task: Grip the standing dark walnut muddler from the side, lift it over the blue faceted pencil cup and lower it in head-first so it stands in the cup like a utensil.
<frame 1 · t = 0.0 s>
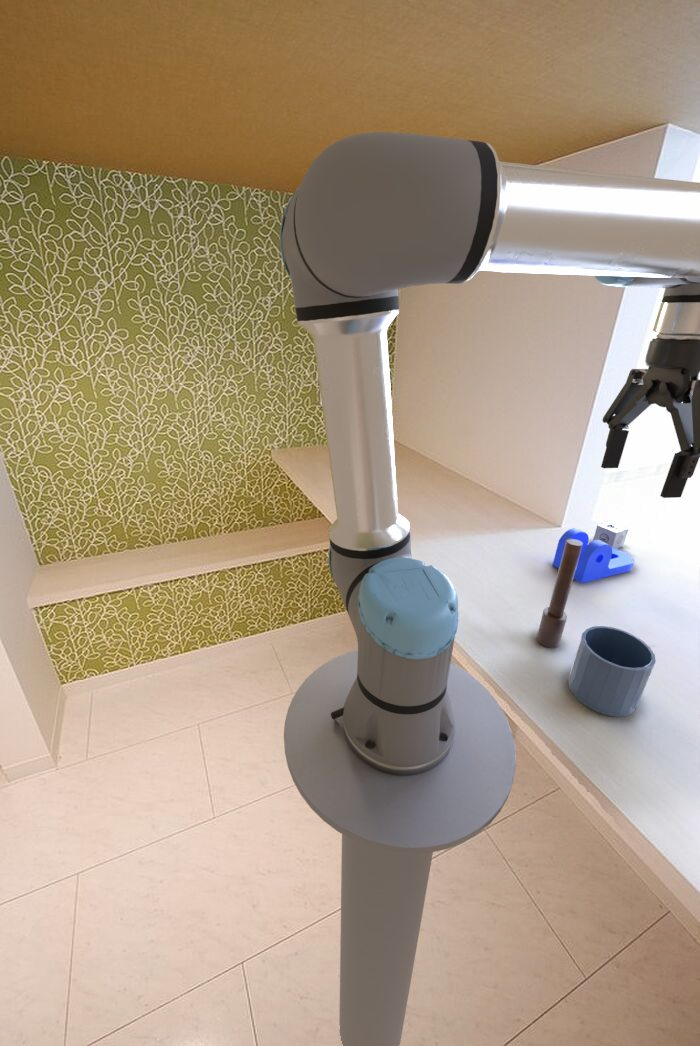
hand: (637, 481, 70), 29 cm above the table, tool pointing down, fingers open, 13 cm apart
blue faceted pencil cup: (601, 691, 67), on the table
muddler: (547, 640, 78), on the table
bracket: (595, 567, 101), on the table
dice cube: (607, 545, 111), on the table
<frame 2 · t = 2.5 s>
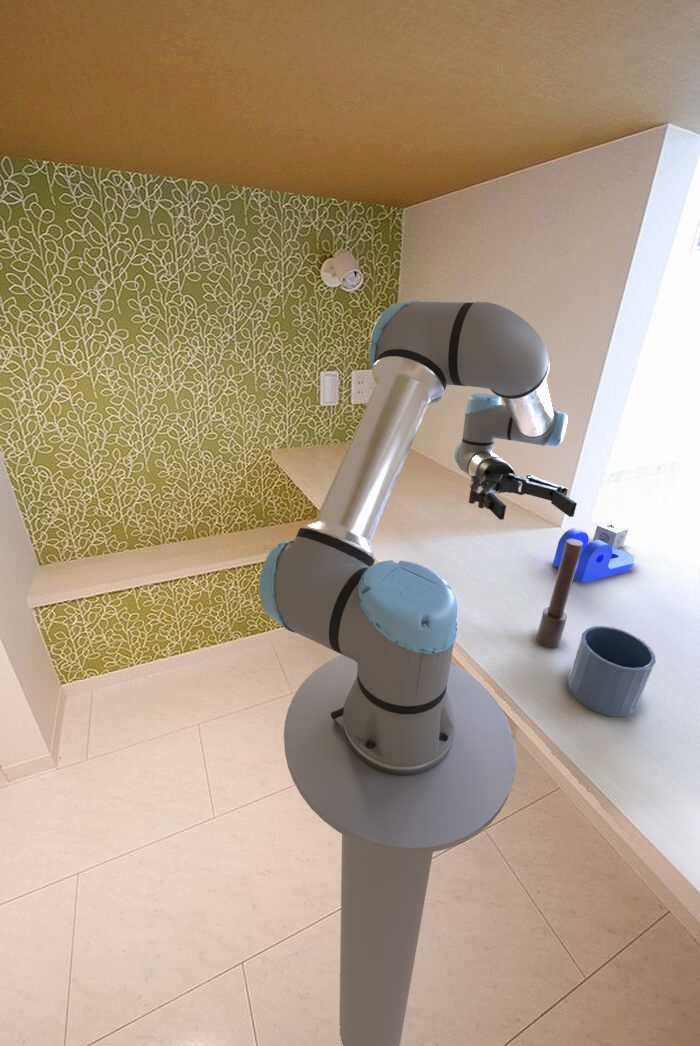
hand: (538, 511, 79), 20 cm above the table, tool horizontal, fingers open, 13 cm apart
nothing on the table moved.
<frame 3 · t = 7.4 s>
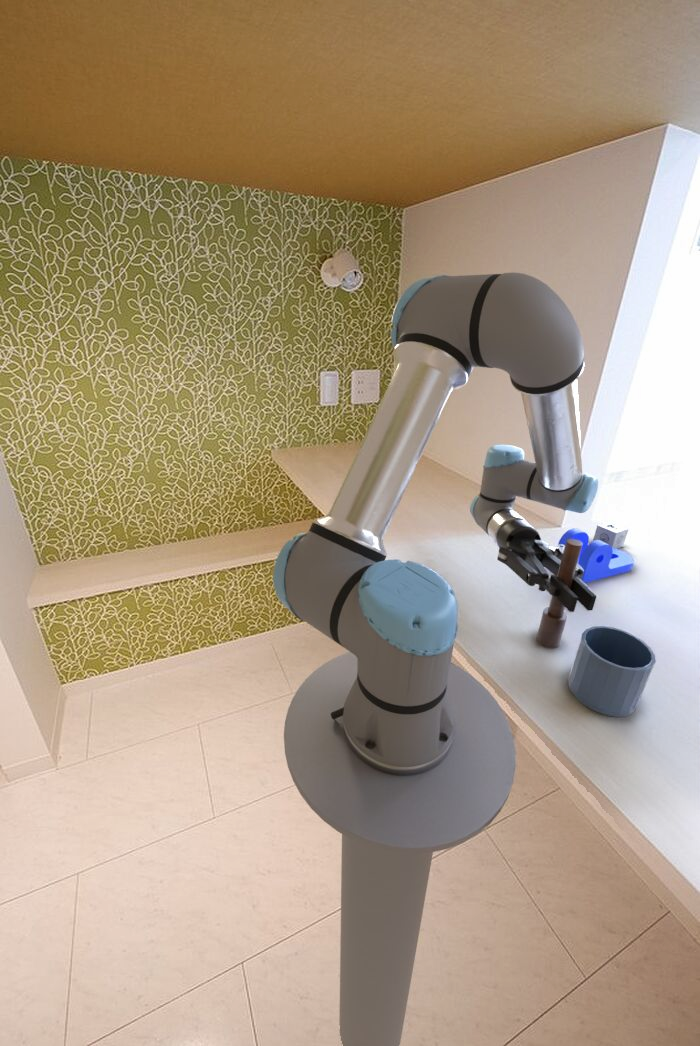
hand: (583, 603, 68), 12 cm above the table, tool horizontal, fingers closed on muddler, 2 cm apart
muddler: (547, 640, 78), on the table, touching gripper
everything else where it was.
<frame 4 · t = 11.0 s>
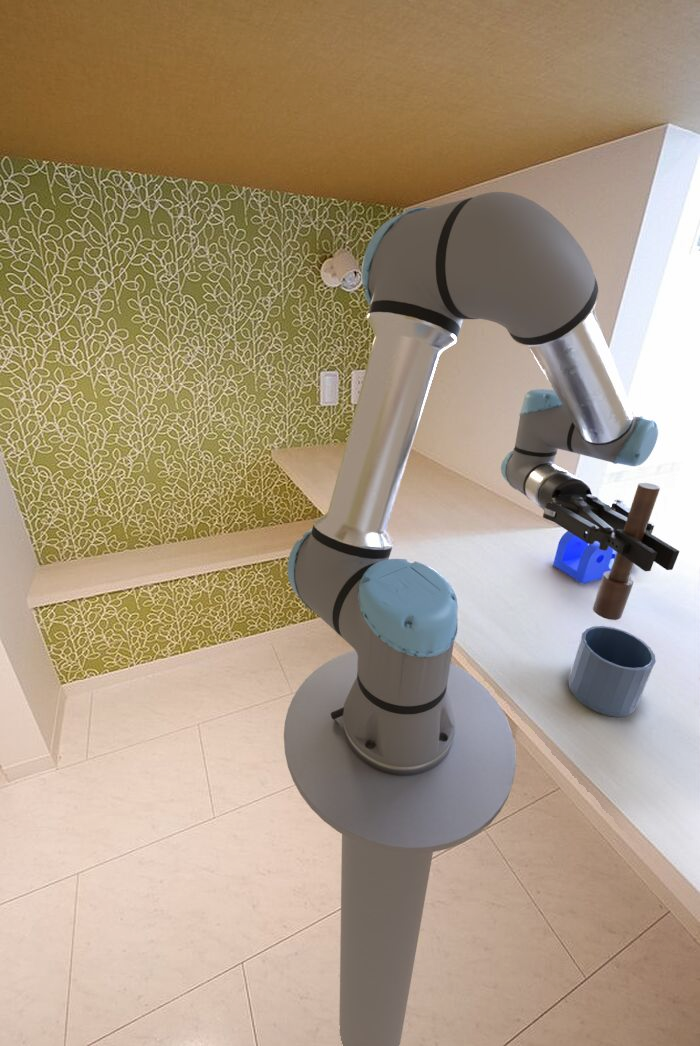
hand: (661, 561, 54), 25 cm above the table, tool horizontal, fingers closed on muddler, 2 cm apart
muddler: (607, 612, 65), point 13 cm above the table, touching gripper
everything else where it was.
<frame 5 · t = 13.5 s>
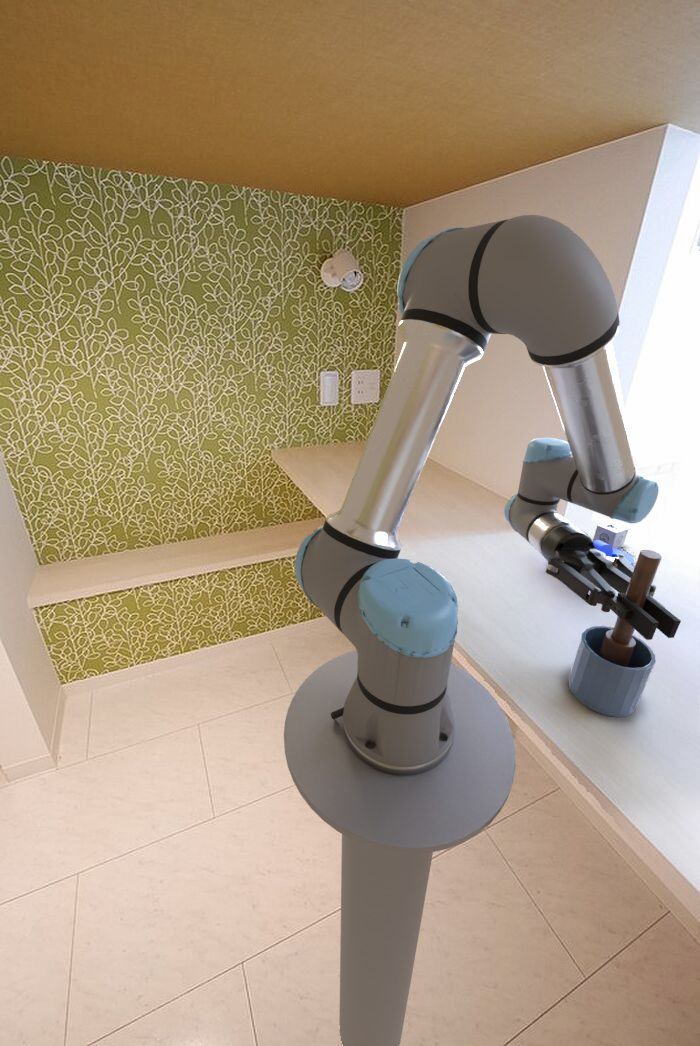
hand: (663, 630, 55), 17 cm above the table, tool horizontal, fingers closed on muddler, 2 cm apart
muddler: (609, 669, 65), point 5 cm above the table, touching gripper
everything else where it was.
when the fingers open (13 cm above the table, at t = 14.8 s): muddler stays where it is, resting on blue faceted pencil cup.
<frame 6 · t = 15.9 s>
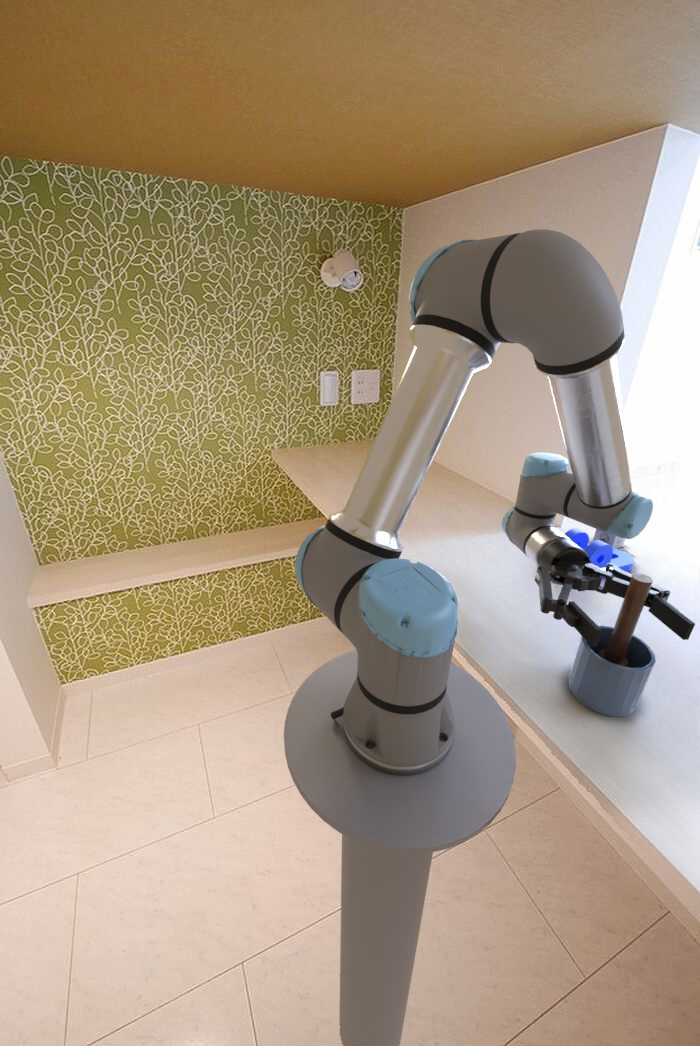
hand: (644, 635, 58), 14 cm above the table, tool horizontal, fingers open, 13 cm apart
muddler: (602, 687, 67), point 1 cm above the table, touching blue faceted pencil cup
everything else where it was.
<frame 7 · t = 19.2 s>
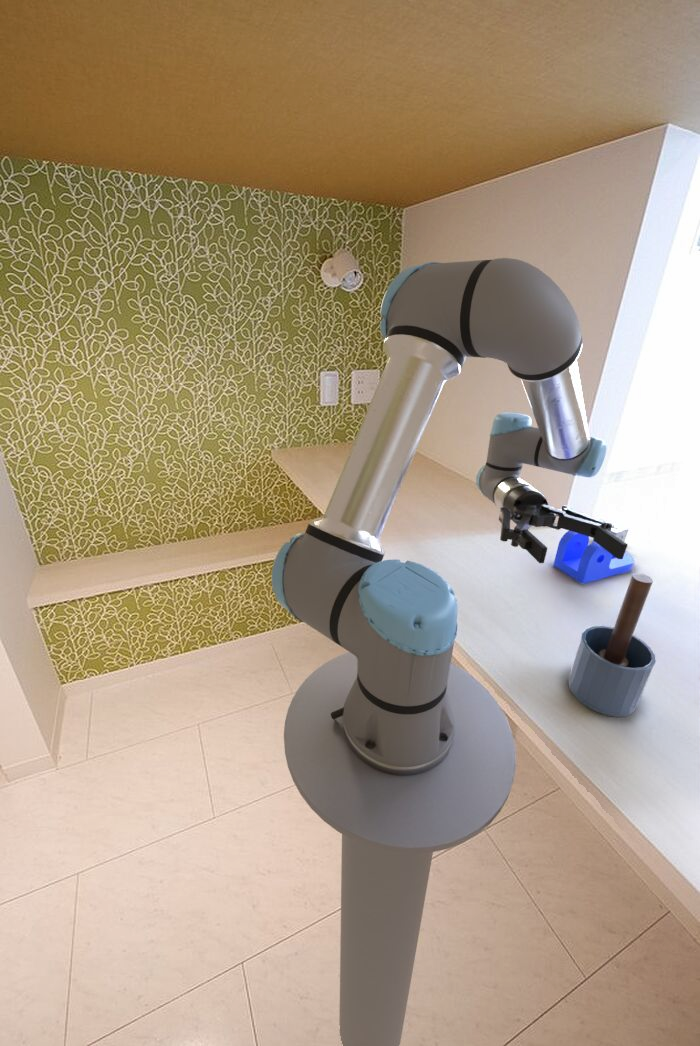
hand: (583, 553, 69), 18 cm above the table, tool horizontal, fingers open, 13 cm apart
nothing on the table moved.
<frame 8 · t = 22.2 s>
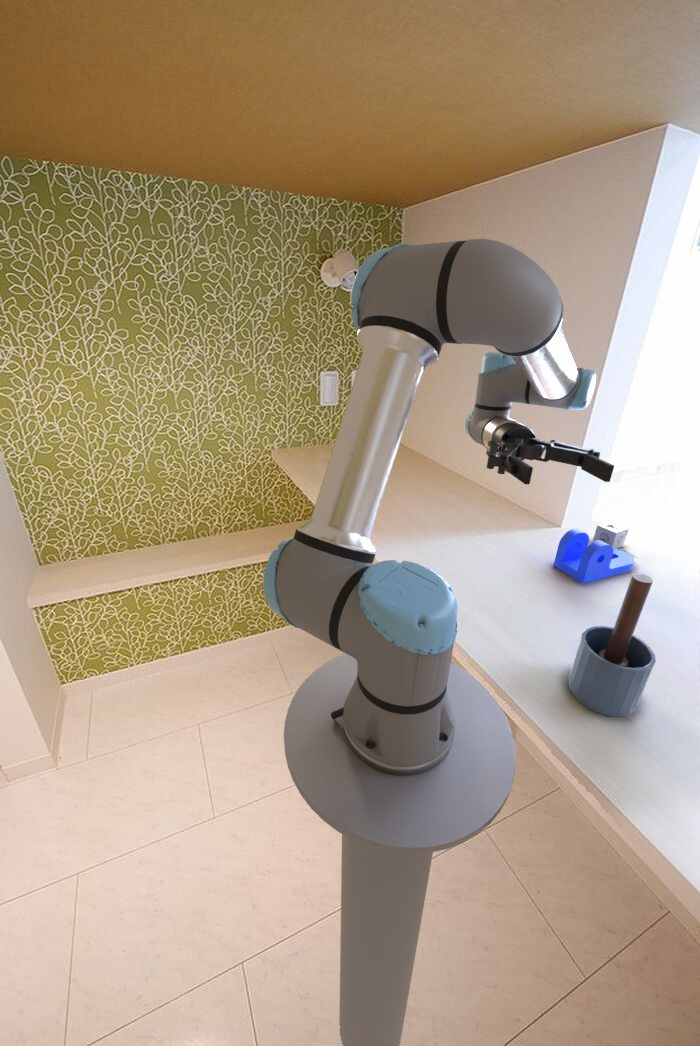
hand: (570, 475, 68), 30 cm above the table, tool horizontal, fingers open, 13 cm apart
nothing on the table moved.
at the end: muddler 0.1 cm off-centre in the blue faceted pencil cup, point 0.8 cm above the blue faceted pencil cup's base; the gripper is holding nothing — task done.
